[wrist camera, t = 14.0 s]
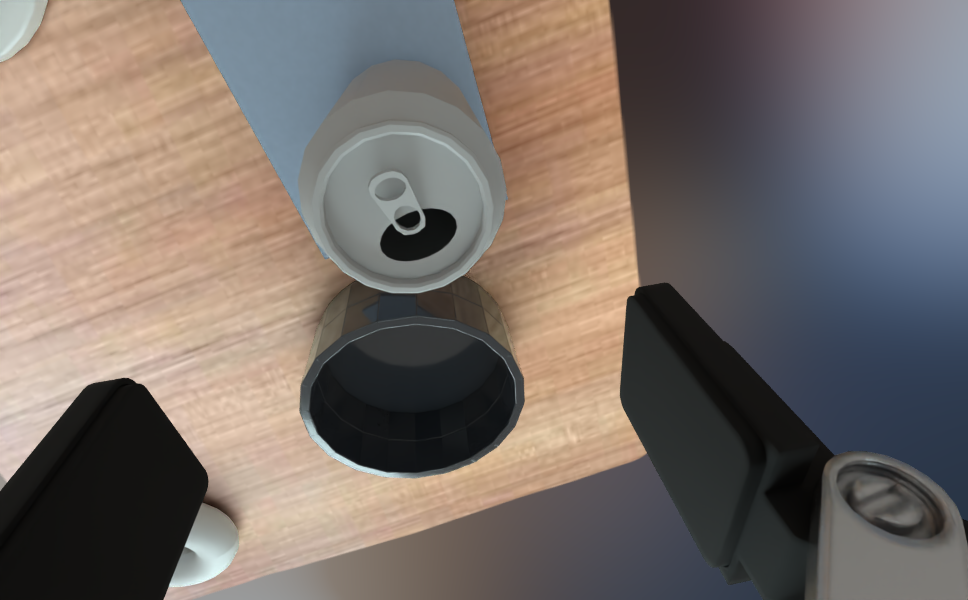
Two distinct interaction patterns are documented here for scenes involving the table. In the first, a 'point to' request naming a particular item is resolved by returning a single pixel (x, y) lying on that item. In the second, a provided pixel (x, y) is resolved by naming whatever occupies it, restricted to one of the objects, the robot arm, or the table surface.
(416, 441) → the pot
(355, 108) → the can
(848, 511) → the robot arm
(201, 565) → the donut
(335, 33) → the cloth
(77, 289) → the table surface
